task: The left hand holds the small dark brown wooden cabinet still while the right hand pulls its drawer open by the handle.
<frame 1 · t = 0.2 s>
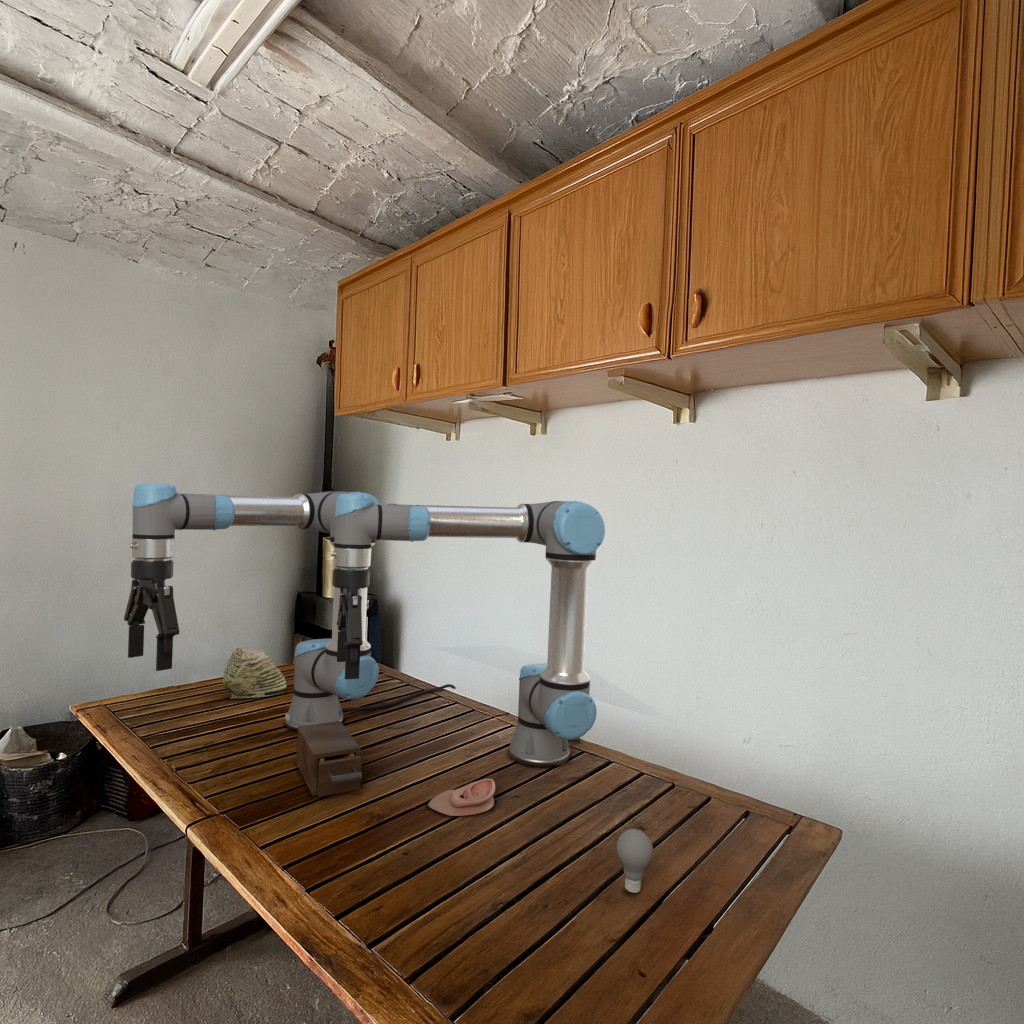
left hand: (149, 663, 129), 28 cm above the table, tool pointing down, fingers open, 13 cm apart
right hand: (347, 669, 132), 28 cm above the table, tool pointing down, fingers open, 13 cm apart
anatomical model: (462, 804, 133), on the table
fossil: (254, 694, 198), on the table
light bulb: (632, 891, 106), on the table
cabinet: (326, 774, 144), on the table
drawer: (333, 766, 139), point 4 cm above the table, slide at 1.8 cm
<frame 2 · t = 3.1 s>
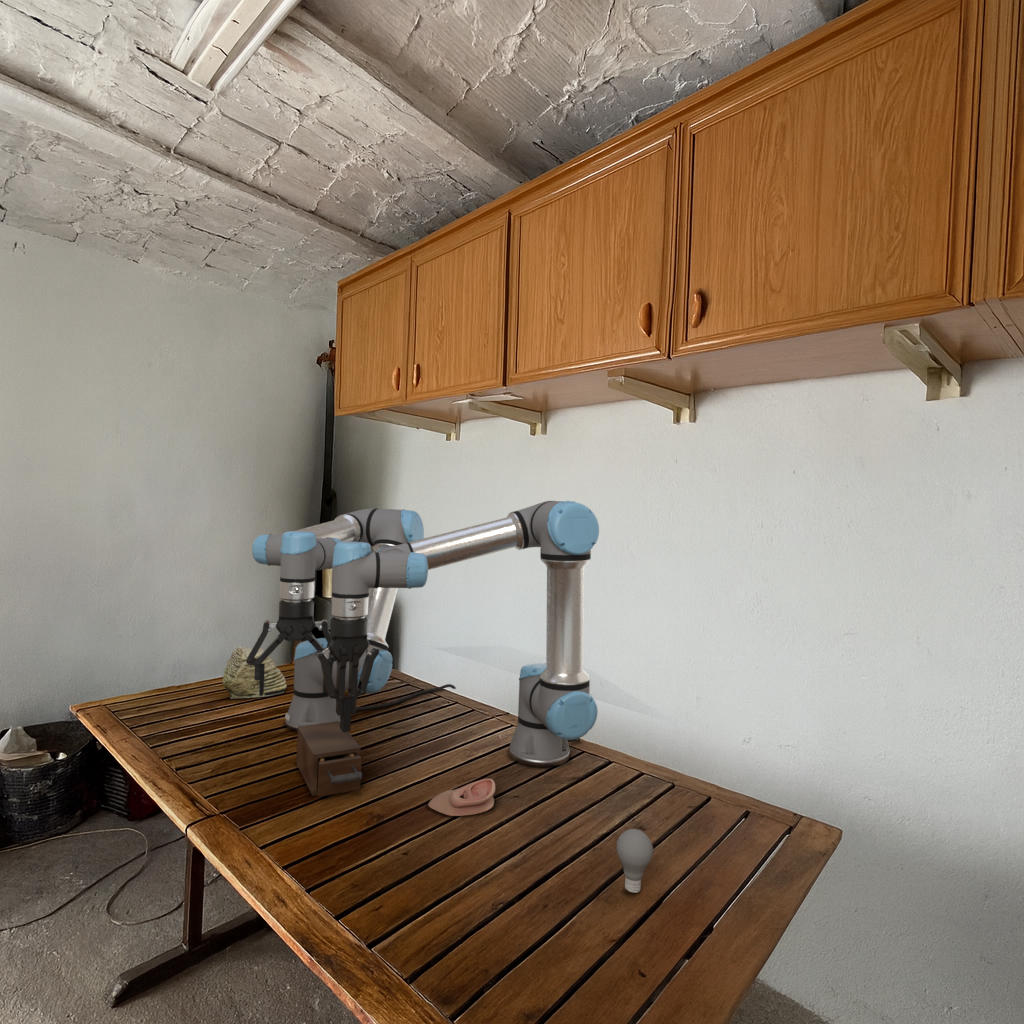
left hand: (293, 692, 144), 18 cm above the table, tool pointing down, fingers open, 13 cm apart
right hand: (345, 729, 131), 15 cm above the table, tool pointing down, fingers closed
nothing on the table moved.
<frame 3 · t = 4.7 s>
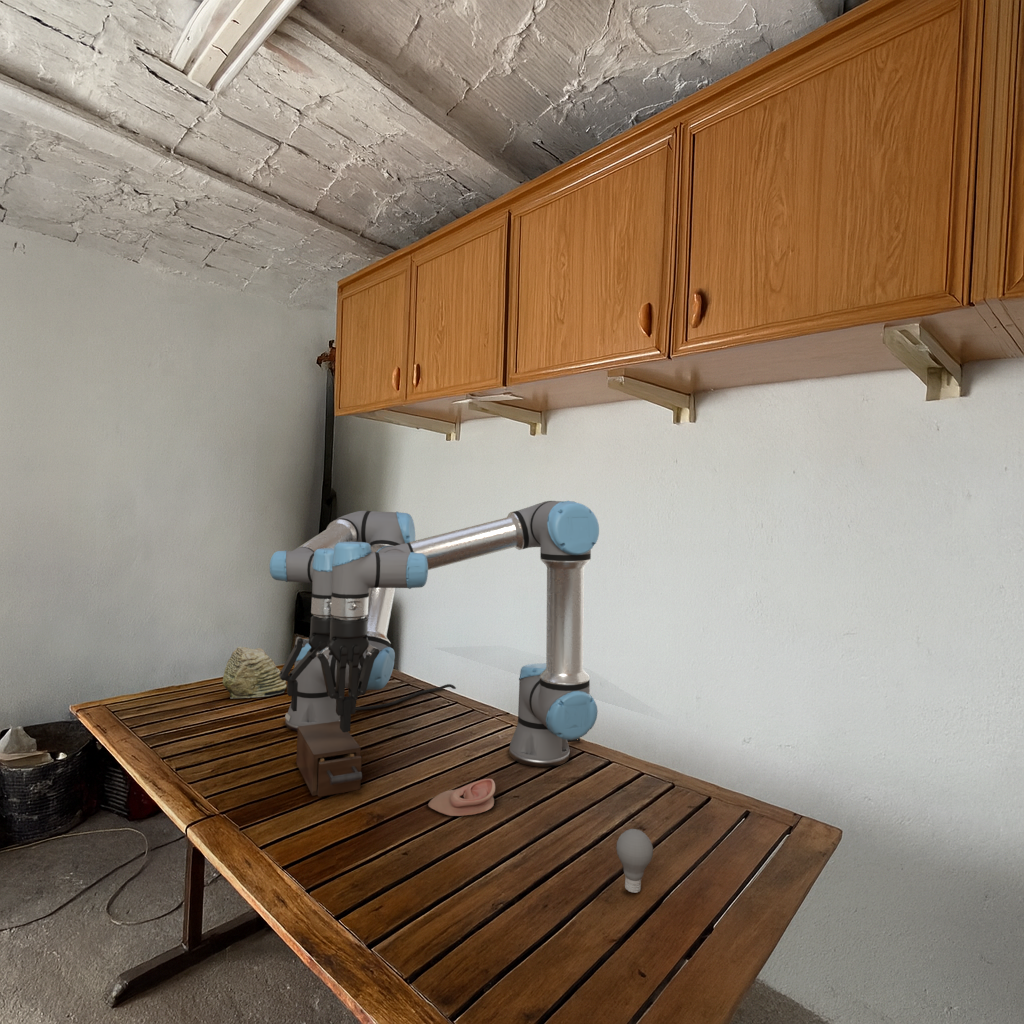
left hand: (324, 706, 148), 15 cm above the table, tool pointing down, fingers open, 13 cm apart
right hand: (345, 729, 131), 15 cm above the table, tool pointing down, fingers closed
nothing on the table moved.
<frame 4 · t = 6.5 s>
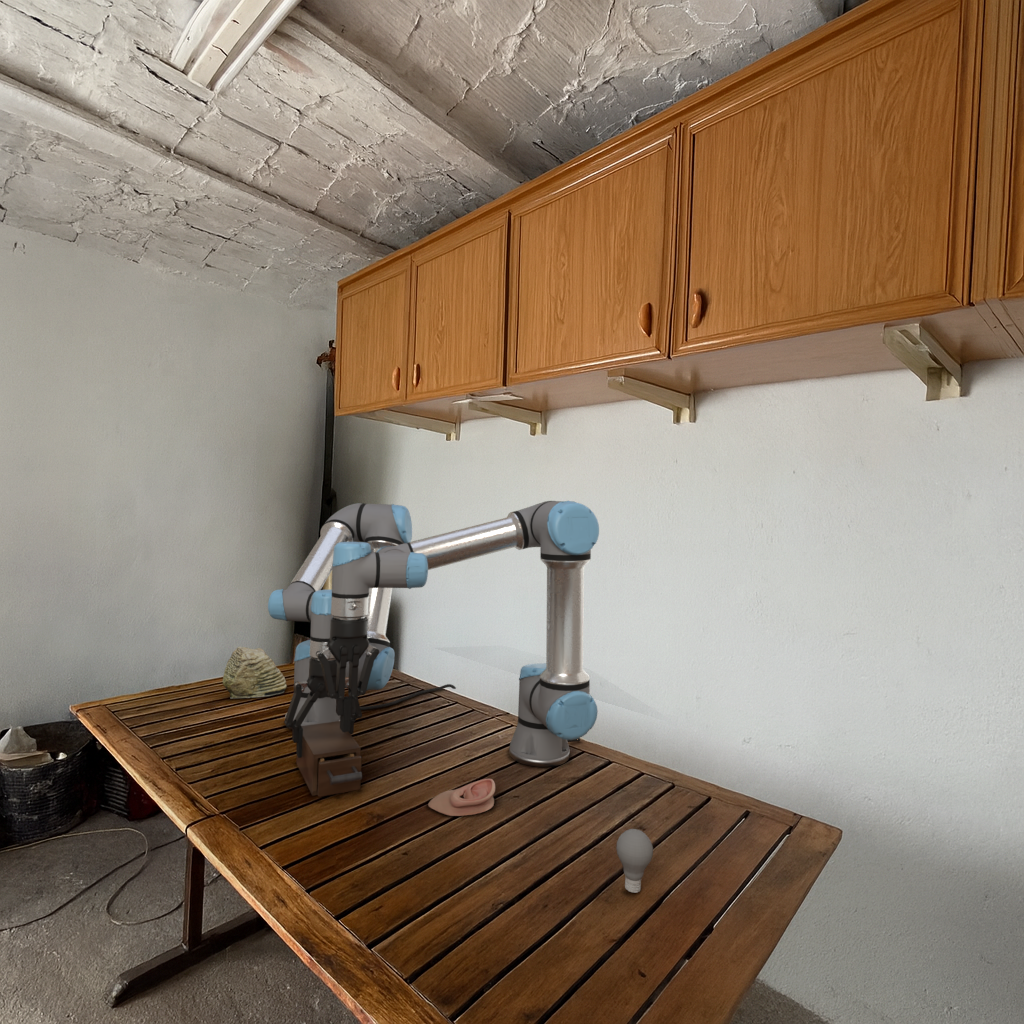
left hand: (322, 751, 148), 4 cm above the table, tool pointing down, fingers closed on cabinet, 10 cm apart
right hand: (345, 729, 131), 15 cm above the table, tool pointing down, fingers closed
cabinet: (326, 774, 144), on the table, touching left hand
everything else where it was.
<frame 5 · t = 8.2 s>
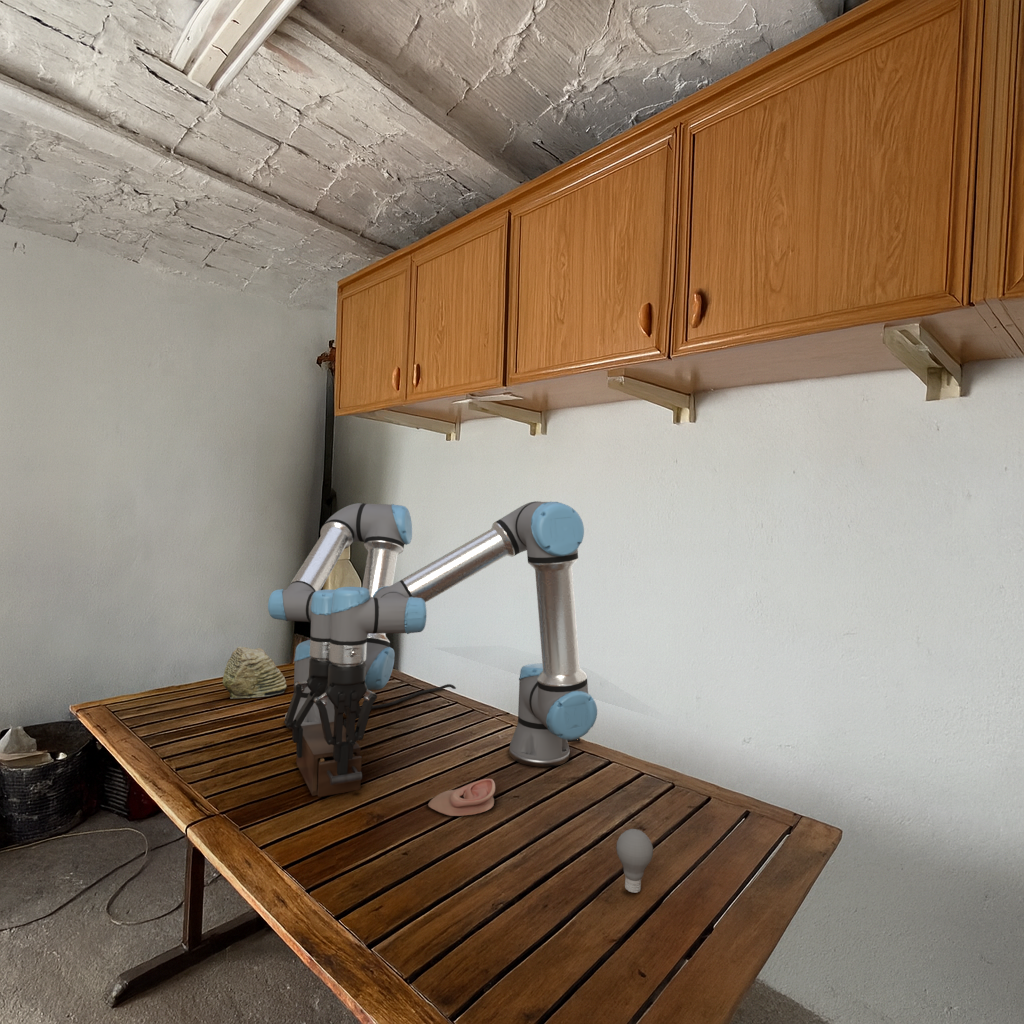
left hand: (322, 751, 148), 4 cm above the table, tool pointing down, fingers closed on cabinet, 10 cm apart
right hand: (342, 774, 132), 6 cm above the table, tool pointing down, fingers closed
cabinet: (326, 774, 144), on the table, touching left hand
drawer: (333, 766, 139), point 4 cm above the table, slide at 1.8 cm, touching right hand
everything else where it was.
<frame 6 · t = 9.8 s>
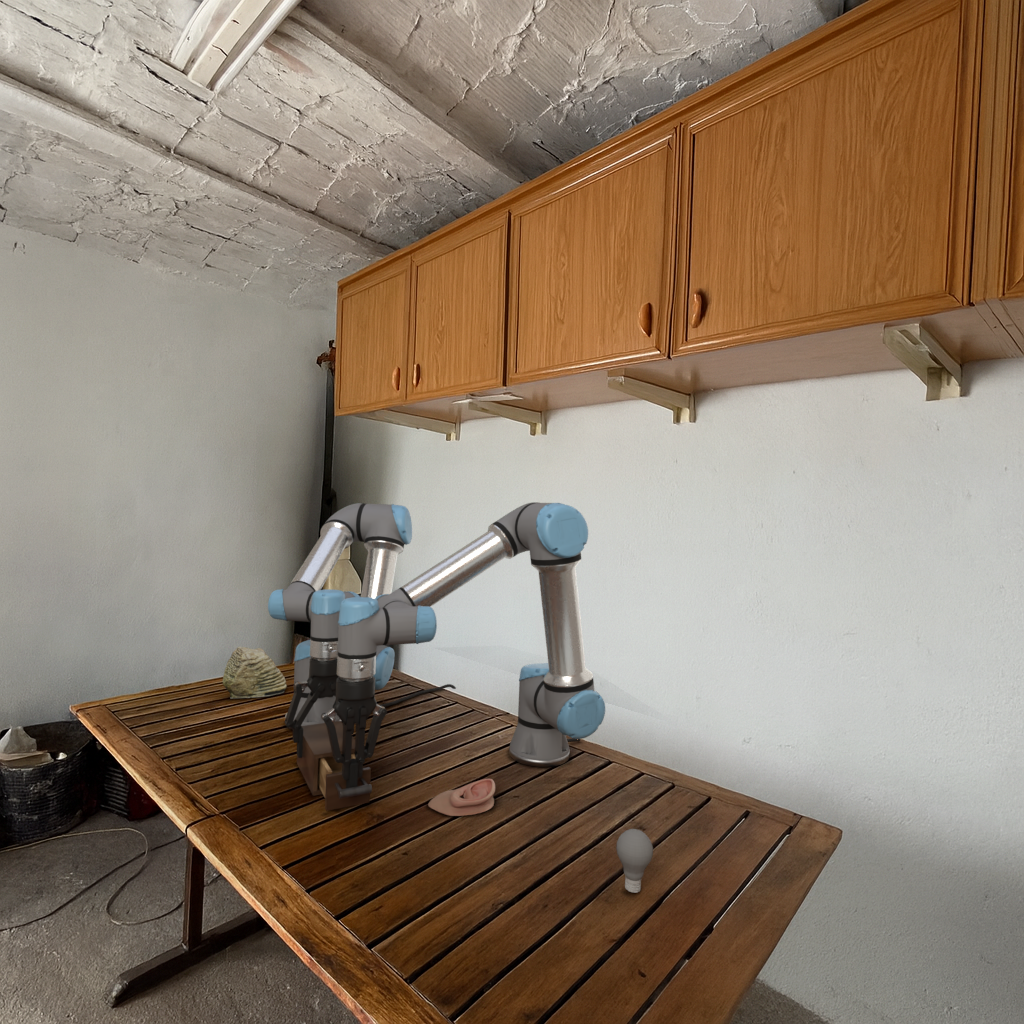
left hand: (323, 751, 148), 4 cm above the table, tool pointing down, fingers closed on cabinet, 10 cm apart
right hand: (351, 793, 126), 5 cm above the table, tool pointing down, fingers closed
cabinet: (326, 774, 144), on the table, touching left hand
drawer: (341, 778, 133), point 4 cm above the table, slide at 8.2 cm, touching right hand
everything else where it was.
when the left hand's fingers open (4 cm above the table, at t = 11.5 s): cabinet stays where it is, on the table.
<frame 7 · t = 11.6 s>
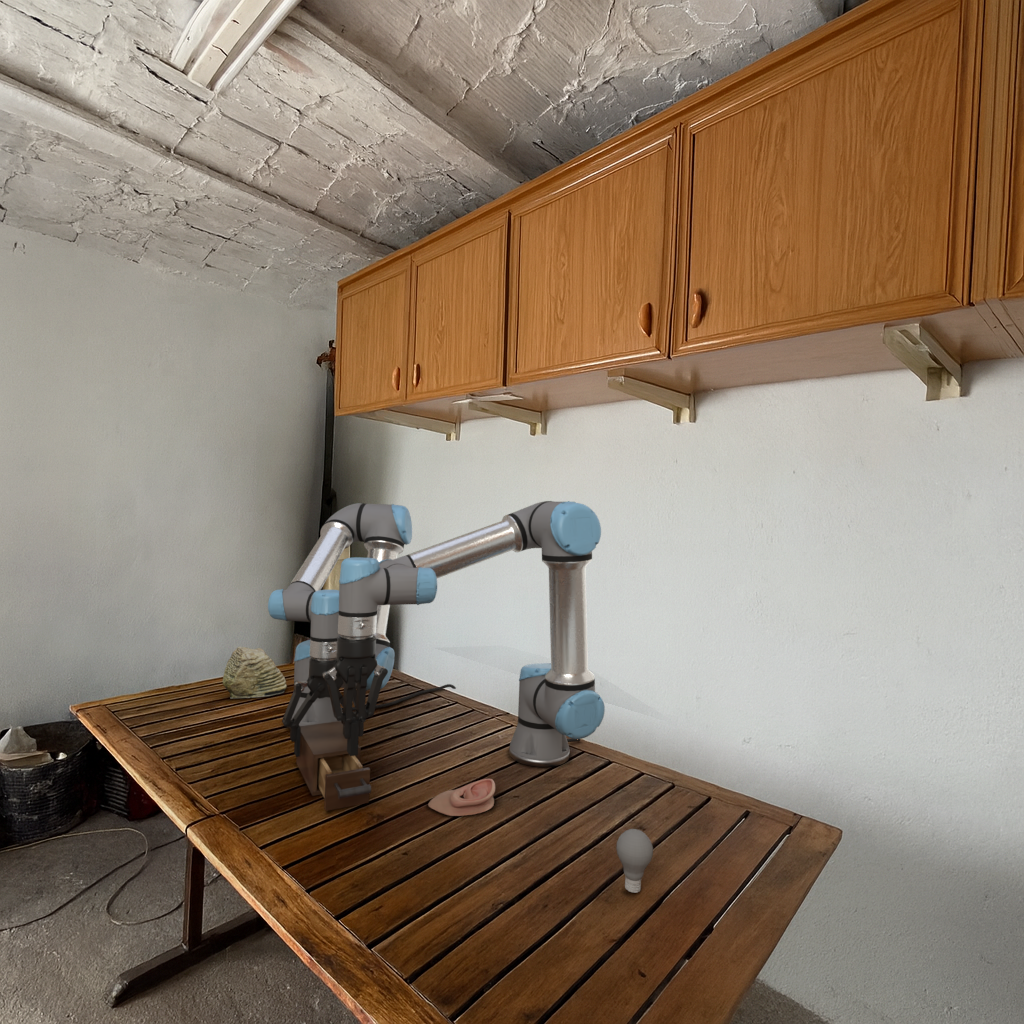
left hand: (322, 750, 148), 4 cm above the table, tool pointing down, fingers open, 11 cm apart
right hand: (352, 752, 127), 13 cm above the table, tool pointing down, fingers closed
cabinet: (326, 775, 144), on the table
drawer: (341, 778, 133), point 4 cm above the table, slide at 8.2 cm
everything else where it was.
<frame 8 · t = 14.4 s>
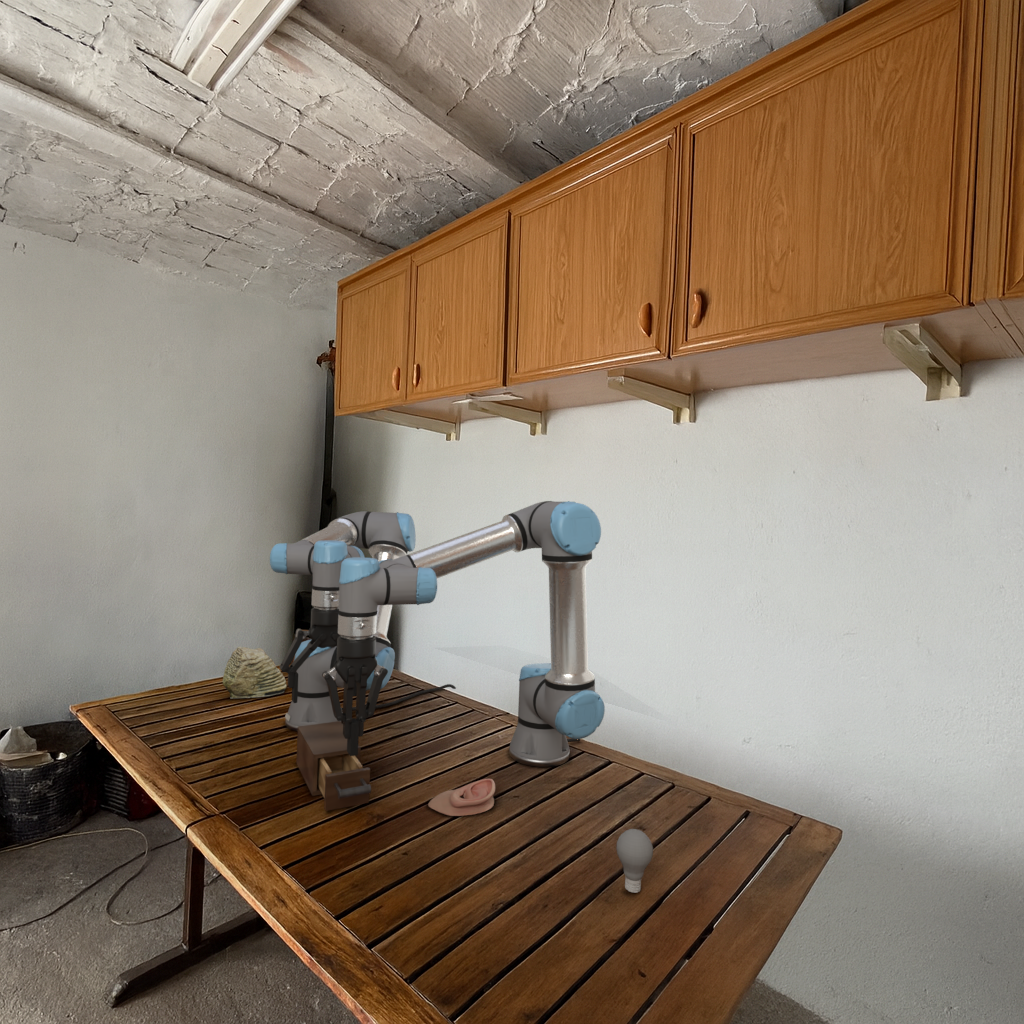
left hand: (324, 698, 148), 16 cm above the table, tool pointing down, fingers open, 13 cm apart
right hand: (352, 752, 127), 13 cm above the table, tool pointing down, fingers closed
nothing on the table moved.
at the end: drawer slide at 8.2 cm; cabinet tilted 0°; cabinet never tilted more than 1° during the clip; cabinet moved 0.0 cm from its start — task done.
